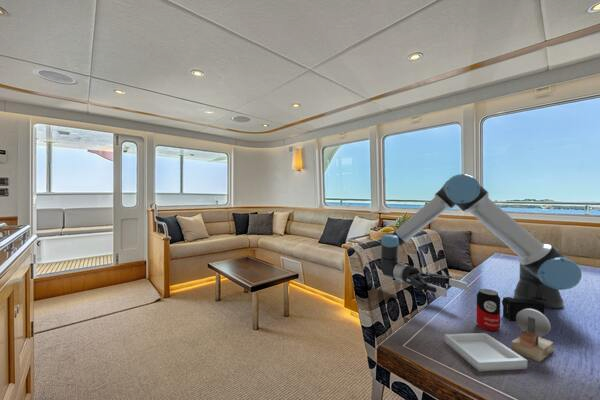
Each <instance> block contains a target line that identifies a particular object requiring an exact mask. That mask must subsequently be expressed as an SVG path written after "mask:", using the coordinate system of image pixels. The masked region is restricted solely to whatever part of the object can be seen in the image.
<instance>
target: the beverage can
mask: <svg viewBox="0 0 600 400" xmlns="http://www.w3.org/2000/svg"><path fill="white" fill-rule="evenodd" d="M475 319H476V321H475V322H476V324H477V325H478V326H479V327H480V328H481V329H484V330H486V331H489V332H497V331H498V330H500V329H501V298H500V296H499V293H498V291H495V290H494V289H493V290H492V289H489V288H479V289H478V292H477V294H476V315H475Z"/></svg>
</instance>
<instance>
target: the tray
mask: <svg viewBox="0 0 600 400" xmlns="http://www.w3.org/2000/svg"><path fill="white" fill-rule="evenodd" d="M444 343H446V344H447V345H448V346H449V347H450V348H451V349H452V350H453V351H455V352H456V353H457V354H458V355H459V356H461V358H463V359H464V360H465V361H466V362H467V363H469V364H470V365H471V366H472V367H473V368H474V369H475V370H476V371H477V372H492V371H511V370H527V369H528V359H526V358H525V357H523V355H521V354H519V353H517V352H514V351H513V350H511V348H509V347H508V346H506V345H505V344H504V343H502V342H501V341H499V340H497V339H496V338H494V337H493V336H491V335H489V334H488V333H487V332H475V333H448V334H446V333H445V334H444Z"/></svg>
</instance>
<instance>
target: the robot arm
mask: <svg viewBox="0 0 600 400" xmlns="http://www.w3.org/2000/svg"><path fill="white" fill-rule="evenodd" d="M455 206H457V208H459V209H460V210H461V211H463V212H464V213H465V212H467V213H468V212H469V213H471V215H473V217H475V218H476V219H477V220H478V221H479V222H480V223H481V224H483V225H484V226H485V228H487V229H488V230H489V231H490V232H492V234H493V235H495V236H496V237H497V238H498V239H499V240H500V241H501V242H503V243H504V244H505V246H507V247H508V248H509V249H510V250H511V251H512V252H514V254H516V255H517V256H518V258H519V279H518V281H517V283H516V287H515V289H514V291H513V298H519V299H533V300H537V301H539V302H541V303H542V304H544V308H547V309H562V308H564V299H563V298H562V295H561V292H560V290H561V291H563V290H565V291H566V290H570V289H572V288H575V287H576V286H578V284H580V283H581V282H580V281H581V280H582V276H583V273H582V270H581V267H580V266H579V265H578V264H577V263H576V262H575V261H573V260H571V259H570V258H568V257H565V256H564V254H561V252H559V249H558V248H557V247H553V245H551V244H549V243H548V244H547V243H542V242H540V241H539V240H538V239H537V237H534V236H533V235H532V234H531V233H530V232H529V231H528V230H527V229H526V228H524V227H523V226H522V225H520V223H518V222H517V221H516V220H515V219H514V218H512V217H511V216H510V215H509V214H508V213H507V212H505V211H504V210H503V209H502V208H501V207H500V206H498V204H496V202H494V201H493V200H492V199H490V197H489V191H488V190H487V189H486V188H484V187H483V186H482V185H481V183H480V182H479V181H478V179H476V178H475V177H474V176H472V175H470V174H465V173H464V174H463V173H459V174H456V175H453V176H451V177H450V178H449V179H448V180H447V181H446V182H445V183H444V184H443V185H442V187H441V188H440V189H439V190H438V191H437V192H435V194H434V197H433V198H432V199H431V200H430V201H429V202H427V203H426V204H425V205H424V206H423V207H421V208H420V209H419V210H418V211H417V212H415V213H414V214H413V215H412V216H411V217H410V218H409V219H407V220H406V221H405V222H404V223H402V224H401V226H399V227H398V228H397V229H396V230H394V232H392V233H391V234H383V235H381V241H380V243H381V246H380V247H381V252H380V253H381V254H380V255H381V256H380V258H381V268H382V272H383V274H384V275H385V276H384V275H383V274H382V275H383V276H384V277H389V278H392V279H395V280H397V281H399V282H400V283H406V284H409V285H411V286H412V287H414V288H415V289H417V290H418V291H419V292H422V291H423V293H428V292H429V293H432V294H436V295H439V296H441V297H444V298H447V295H448V293H447V291H448V289H447V288H445V287H441V286H439V285H435V283H436V284H444V285H448V286H451V287H454V288H457V289H459V290H463V291H468V283H467V282H465V281H461V280H458V279H454V278H453V277H452V276H451V275H443V274H438V273H432V272H427V271H425V272H421V271H420V270H419V268H417V267H416V266H412V265H408V264H404V263H400V262H399V249H400V248H401V247H402V246H404V245H405V244H406V243H407V242H408V241H410V240H411V239H412V238H413V237H415V235H417V234H418V233H420V231H422V230H423V229H424V228H425V227H427V226H428V225H429V224H430V223H432V222H433V221H435V219H436V218H438V217H439V216H440V215H441V214H443V213H444V212H445V211H447V210H452V208H454V207H455ZM433 283H434V284H433Z"/></svg>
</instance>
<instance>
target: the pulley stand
mask: <svg viewBox="0 0 600 400" xmlns="http://www.w3.org/2000/svg"><path fill="white" fill-rule="evenodd" d="M516 321H517V322H516V323H517V326H518V327H519V328H520V329H521V330H522V332H520V333H519V336H518V337H516V338H515V339H513V340H512V341H511V346H510V347H511V348H510V349H511V350H513V351H514V352H516V353H517V354H519V355H520V356H524V357H527V358H529V359H532V360H533V361H535V362H538V363H540V362H541V361H543V360H544V359H545V358H547V357H548V356H549V355H551V353H553V352H554V350H555V349H554V347H555V345H554V344H555V343H554V341H552V340H549V339H547V338H546V339H545V338H543V337H544V336H546V335H548V333H550V331H551V329H552V328H551V327H552V326H551V322H550V320H549V318H548V317H547V316H546V315H545V313H544V314H542V313H541V312H539V311H537V310H535V309H529V308H528V309H523V310H521V311H520V312H518V313H517V315H516Z"/></svg>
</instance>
